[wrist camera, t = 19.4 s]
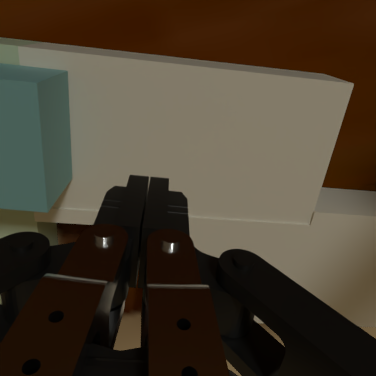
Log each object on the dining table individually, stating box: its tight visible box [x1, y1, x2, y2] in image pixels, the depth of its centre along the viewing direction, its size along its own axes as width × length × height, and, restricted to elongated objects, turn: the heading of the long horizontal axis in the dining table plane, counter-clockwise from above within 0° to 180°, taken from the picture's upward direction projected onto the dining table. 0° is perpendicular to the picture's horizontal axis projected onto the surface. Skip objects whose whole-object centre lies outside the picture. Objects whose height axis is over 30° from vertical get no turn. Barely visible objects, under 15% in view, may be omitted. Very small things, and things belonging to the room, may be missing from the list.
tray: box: [0, 37, 376, 327], centre depth 22 cm, size 18×31×6 cm, turn 84°
